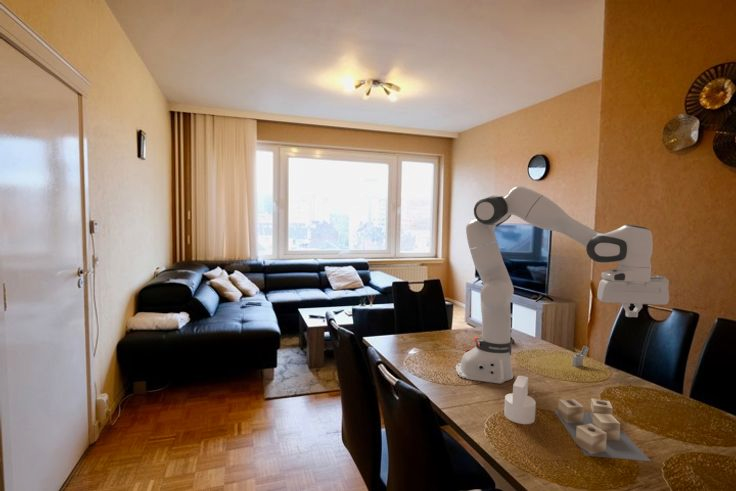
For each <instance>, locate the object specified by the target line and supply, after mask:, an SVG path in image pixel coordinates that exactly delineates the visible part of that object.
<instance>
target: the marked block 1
mask: <svg viewBox="0 0 736 491" xmlns="http://www.w3.org/2000/svg"><path fill="white" fill-rule="evenodd" d="M584 409H585V407H584V405H582V403H579V401H577V400H576V399H575V398H574V399H572V398H569V399H567V398H563V399H561V398H560V399H558V409H557V410H558V415H559V416H560V417H561V418H562V419H563V420H564V421H566V422H567V423H583V416H584V412H585V410H584Z"/></svg>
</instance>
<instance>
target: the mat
mask: <svg viewBox="0 0 736 491" xmlns="http://www.w3.org/2000/svg"><path fill="white" fill-rule="evenodd" d="M553 413H554V414H555V415H556V416H557V418H558V419H559V421H560V422H561V423H562V425H563V426H564V428H565V429H566V431H567V432H568V434H569V435H570V436H571V438H572V439H573V441H574V442H575V443H576V428H577V426H580V425H585V424H590V423H591V424H593V420H592V417H591V414H590V411H589V412H588V411H584V416H583V423H567V422H566V421H564V420H563V419H562V418H561V417H560V416H559V415H558V409H553ZM578 448H580V450H581V452H582V454H584V456H586V457H596V458H597V457H598V458H609V459H619V460H629V461H642V462H652V460H651V459H650V458H649V457H648V456H647V455H646V454H645V453H644V451H642V450H641V449H640V448H639V447H638V445H637V444H635V443H634V441H632V439H630V437H629V436H628V435H627V434H626V433H625V432H624V431H623V430H622V429H621V428H620V438H619V441H615V440H606V451H604V452H600V453H595V454H590V453H589V452H587V451H586V450H584V449H583V448H581V447H580V446H578Z"/></svg>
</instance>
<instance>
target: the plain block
mask: <svg viewBox="0 0 736 491" xmlns="http://www.w3.org/2000/svg"><path fill="white" fill-rule="evenodd" d="M592 425H594V426H596V427H597V428H599V429H601V430H602V431H604V432H606V433H607V438H606V440H615V441H619V438H620V429H621V423H620V421H618V420H617V419H616V418H615V416H613V414H612V415H611V414H598V413H593V424H592Z"/></svg>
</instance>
